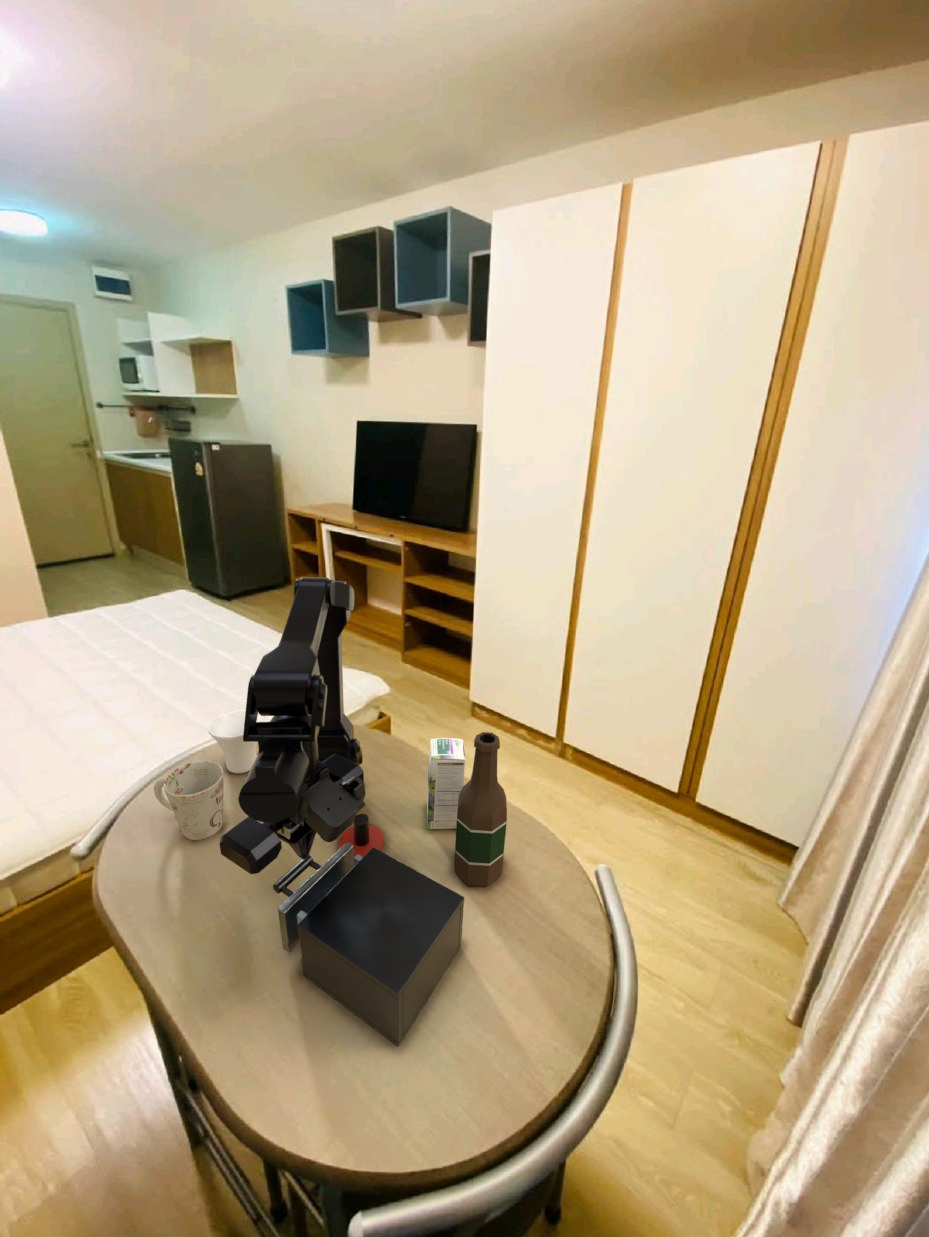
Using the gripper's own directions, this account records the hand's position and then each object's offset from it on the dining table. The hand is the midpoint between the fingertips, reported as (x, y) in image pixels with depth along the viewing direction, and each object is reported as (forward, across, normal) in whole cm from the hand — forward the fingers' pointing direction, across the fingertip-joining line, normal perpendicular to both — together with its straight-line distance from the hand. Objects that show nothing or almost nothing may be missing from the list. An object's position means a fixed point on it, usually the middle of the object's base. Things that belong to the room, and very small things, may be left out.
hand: (303, 856), depth 68 cm
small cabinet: (+10, 0, -14) cm, 17 cm away
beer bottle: (+10, +19, -16) cm, 27 cm away
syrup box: (+10, +25, -6) cm, 28 cm away
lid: (+10, +13, +2) cm, 16 cm away
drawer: (+9, 0, -6) cm, 11 cm away
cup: (+10, +15, +34) cm, 38 cm away
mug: (+10, +1, +28) cm, 29 cm away
